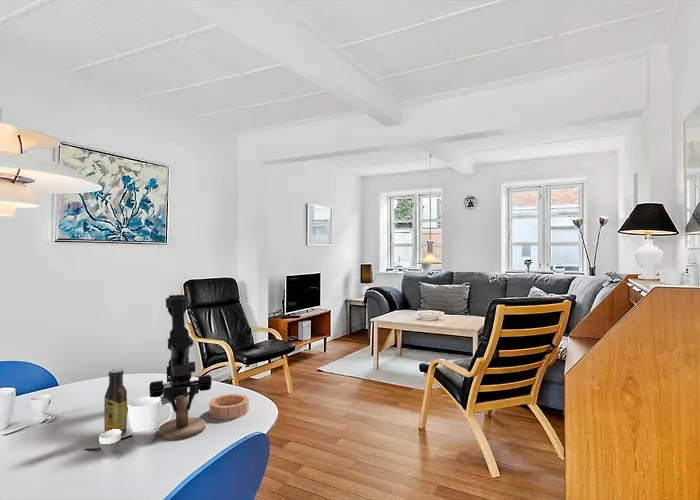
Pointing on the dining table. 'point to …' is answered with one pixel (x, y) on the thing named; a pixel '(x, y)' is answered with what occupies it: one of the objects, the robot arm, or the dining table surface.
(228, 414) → the terracotta bowl
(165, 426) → the walnut lid
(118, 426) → the sauce bottle
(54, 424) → the dining table surface
